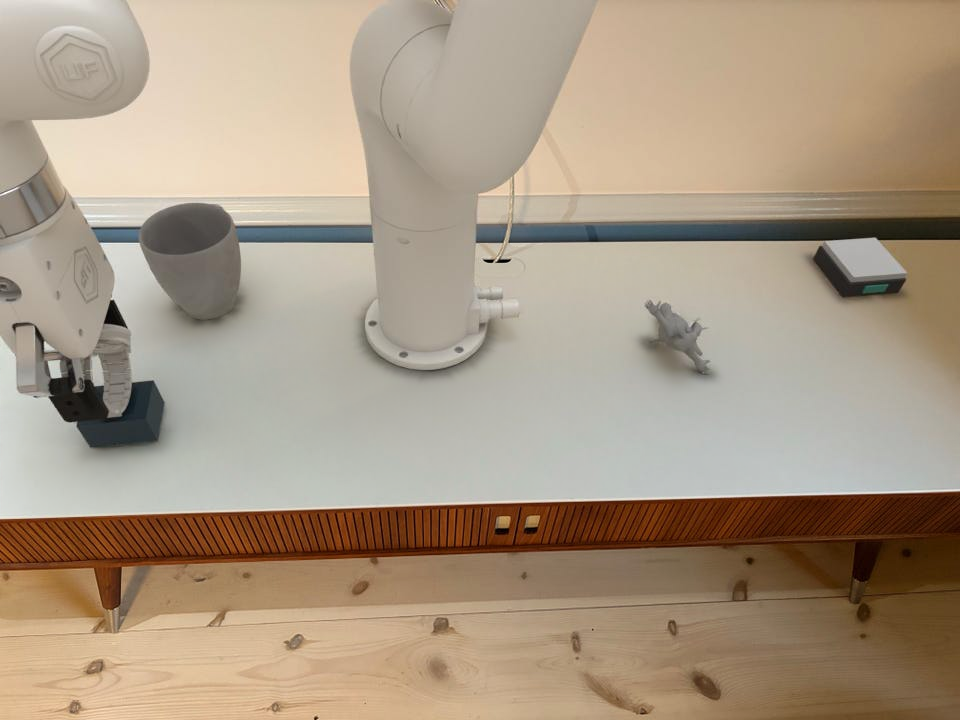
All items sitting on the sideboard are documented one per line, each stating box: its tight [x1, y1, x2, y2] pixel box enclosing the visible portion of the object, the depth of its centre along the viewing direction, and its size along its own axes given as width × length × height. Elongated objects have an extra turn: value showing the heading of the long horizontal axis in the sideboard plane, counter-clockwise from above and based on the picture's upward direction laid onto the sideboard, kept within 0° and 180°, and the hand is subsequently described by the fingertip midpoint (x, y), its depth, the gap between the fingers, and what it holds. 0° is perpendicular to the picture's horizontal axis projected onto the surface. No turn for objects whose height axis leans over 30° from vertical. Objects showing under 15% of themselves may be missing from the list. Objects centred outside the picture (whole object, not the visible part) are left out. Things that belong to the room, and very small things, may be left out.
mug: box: [138, 202, 242, 321], centre depth 72 cm, size 12×9×10 cm
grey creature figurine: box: [644, 299, 712, 375], centre depth 70 cm, size 10×6×9 cm
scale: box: [812, 237, 908, 298], centre depth 81 cm, size 7×7×3 cm
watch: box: [59, 324, 166, 449], centre depth 58 cm, size 6×8×11 cm
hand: (99, 375), depth 57 cm, fingers closed on watch, 8 cm apart
